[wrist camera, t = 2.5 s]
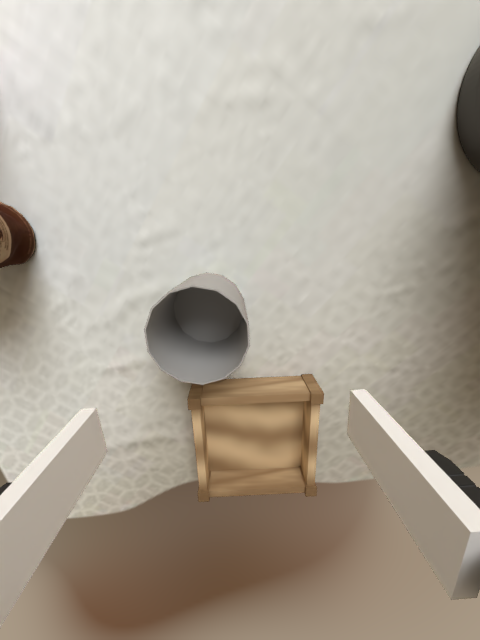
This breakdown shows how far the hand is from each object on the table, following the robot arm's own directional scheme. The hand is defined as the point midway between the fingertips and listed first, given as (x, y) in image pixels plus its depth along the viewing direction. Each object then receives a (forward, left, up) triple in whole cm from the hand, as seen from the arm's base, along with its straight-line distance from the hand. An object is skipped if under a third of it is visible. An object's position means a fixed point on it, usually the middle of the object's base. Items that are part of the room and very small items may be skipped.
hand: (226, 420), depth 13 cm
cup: (-2, -2, -18) cm, 18 cm away
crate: (+15, +3, -18) cm, 23 cm away
